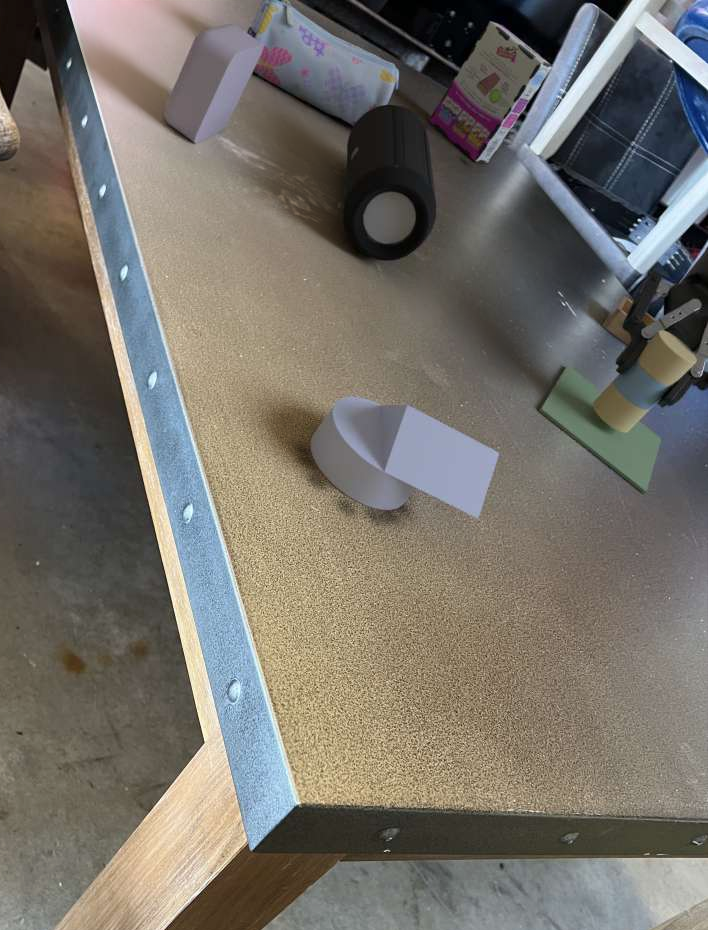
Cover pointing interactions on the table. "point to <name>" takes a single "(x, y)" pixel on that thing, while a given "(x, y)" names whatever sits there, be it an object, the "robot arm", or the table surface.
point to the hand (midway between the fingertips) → (642, 386)
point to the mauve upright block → (212, 81)
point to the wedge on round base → (400, 456)
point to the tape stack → (644, 381)
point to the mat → (601, 430)
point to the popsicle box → (489, 92)
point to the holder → (622, 320)
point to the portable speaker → (389, 184)
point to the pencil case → (319, 64)
